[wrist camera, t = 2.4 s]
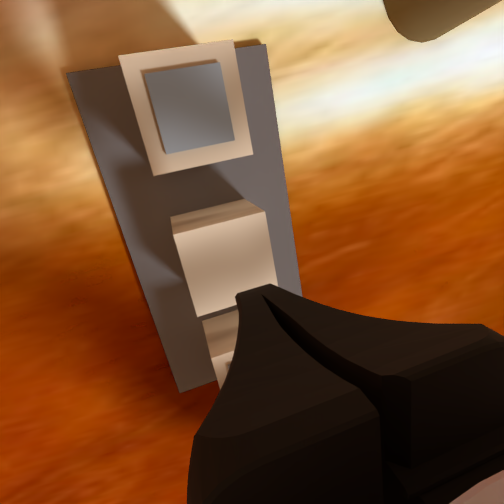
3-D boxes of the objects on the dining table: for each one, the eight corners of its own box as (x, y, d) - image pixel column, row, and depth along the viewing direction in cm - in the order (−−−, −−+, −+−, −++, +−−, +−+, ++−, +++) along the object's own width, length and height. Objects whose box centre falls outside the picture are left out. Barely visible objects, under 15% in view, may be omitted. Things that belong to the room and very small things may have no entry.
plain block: (257, 265, 20) (278, 291, 17) (190, 285, 20) (197, 316, 16) (244, 198, 19) (264, 211, 15) (170, 216, 18) (173, 234, 14)
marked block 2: (275, 352, 23) (299, 393, 19) (217, 373, 22) (229, 420, 18) (265, 300, 21) (289, 334, 18) (201, 320, 21) (211, 360, 17)
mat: (307, 344, 24) (309, 347, 24) (179, 389, 22) (179, 393, 22) (263, 45, 17) (265, 43, 17) (68, 75, 15) (65, 73, 15)
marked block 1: (234, 152, 18) (254, 154, 14) (154, 169, 17) (153, 176, 13) (216, 63, 16) (234, 37, 12) (127, 77, 15) (117, 54, 12)
